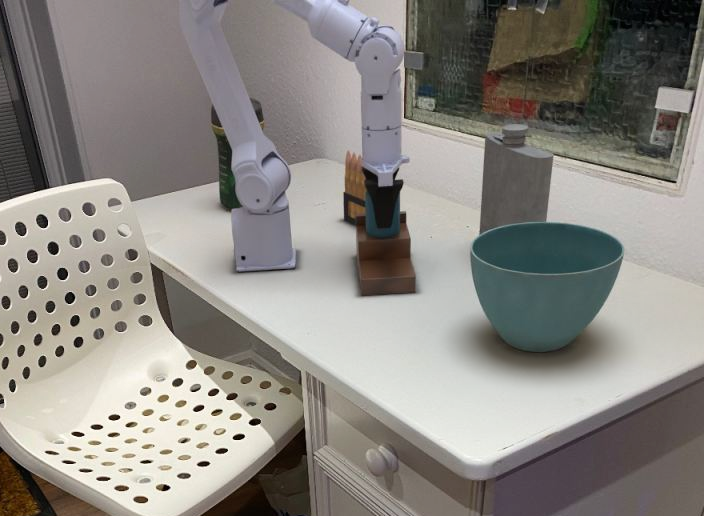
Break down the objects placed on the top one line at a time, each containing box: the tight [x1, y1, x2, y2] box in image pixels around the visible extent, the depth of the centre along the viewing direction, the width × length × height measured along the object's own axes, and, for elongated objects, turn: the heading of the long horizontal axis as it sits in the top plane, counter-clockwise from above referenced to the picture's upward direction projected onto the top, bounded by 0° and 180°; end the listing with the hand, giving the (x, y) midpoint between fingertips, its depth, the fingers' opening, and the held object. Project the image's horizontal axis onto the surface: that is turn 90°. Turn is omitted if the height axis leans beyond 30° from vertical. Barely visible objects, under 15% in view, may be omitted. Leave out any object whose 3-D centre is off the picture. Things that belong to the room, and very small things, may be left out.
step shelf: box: [355, 210, 417, 296], centre depth 125 cm, size 8×16×7 cm, turn 1°
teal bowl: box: [469, 221, 625, 353], centre depth 103 cm, size 18×18×12 cm
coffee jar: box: [210, 97, 265, 210], centre depth 153 cm, size 10×8×19 cm
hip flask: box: [478, 123, 555, 236], centre depth 121 cm, size 16×4×20 cm, turn 19°
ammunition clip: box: [342, 150, 367, 227], centre depth 141 cm, size 11×2×12 cm, turn 31°
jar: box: [365, 191, 401, 237], centre depth 124 cm, size 5×5×6 cm
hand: (382, 221), depth 125 cm, fingers closed on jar, 5 cm apart
